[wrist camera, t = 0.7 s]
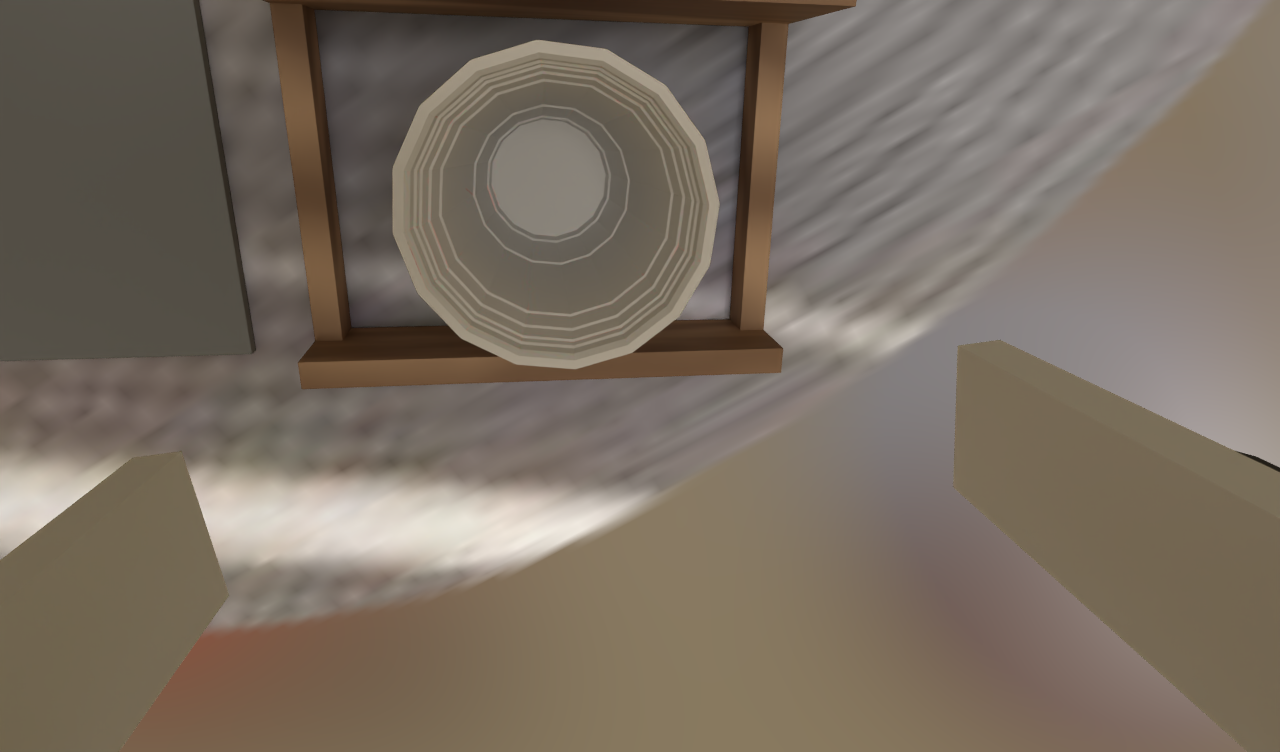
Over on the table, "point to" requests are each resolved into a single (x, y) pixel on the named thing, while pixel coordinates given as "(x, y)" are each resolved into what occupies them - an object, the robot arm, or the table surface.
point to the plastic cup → (554, 205)
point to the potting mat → (114, 186)
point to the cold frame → (438, 350)
